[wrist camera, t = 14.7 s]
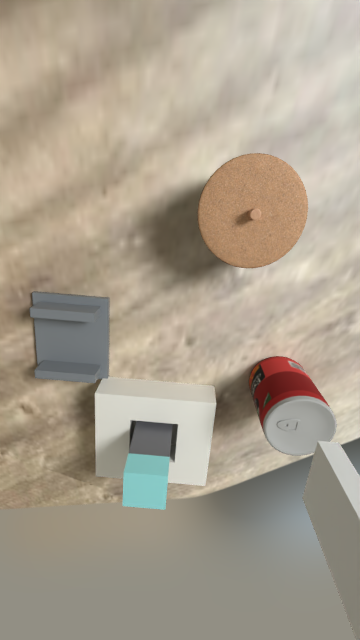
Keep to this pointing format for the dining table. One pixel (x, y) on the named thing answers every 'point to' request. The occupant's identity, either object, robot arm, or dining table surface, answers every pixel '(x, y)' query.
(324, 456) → the robot arm
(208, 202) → the lidded jar
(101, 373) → the holster
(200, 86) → the dining table surface
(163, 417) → the port
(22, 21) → the dining table surface
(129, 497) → the plug
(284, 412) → the canned food
